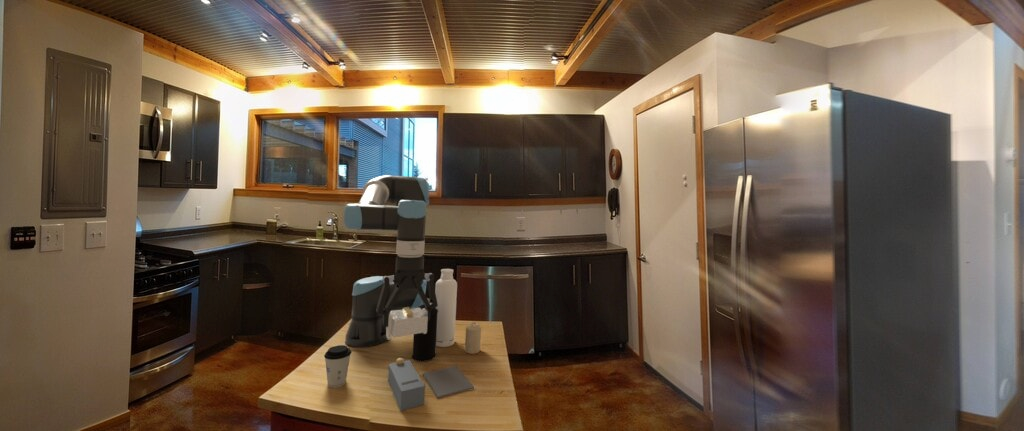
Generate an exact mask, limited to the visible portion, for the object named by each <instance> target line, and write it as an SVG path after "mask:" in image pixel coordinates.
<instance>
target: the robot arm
mask: <svg viewBox="0 0 1024 431" xmlns="http://www.w3.org/2000/svg"><path fill="white" fill-rule="evenodd" d="M361 192H362V195H361V197H360V200H359V201H358V202H357V203H347V204H346V205H345V206H344V212H343V225H344V227H345V228H346V229H348V230H357V231H362V230H363V231H397V232H396V233H397V235H396V236H397V237H396V251H395V253H396V257H395V269H394V270H395V271H394V273H393V275H384V276H382V275H381V276H380V275H375V276H370V277H363V278H361V279H358V280H356V281H355V282H354V283H353V285H352V286H353V287H352V293H351V296H352V298H351V299H352V300H351V301H352V302H351V320H350V323H349V325H348V329H347V331H346V334H345V341H344V342H345V344H346V345H347V346H350V347H355V348H366V347H373V346H378V345H380V344H382V343H385V342H386V341H388V340H389V341H390V340H391V339H392V334H391V326H392V315H391V313H390V311H395V310H403V308H406V307H409V308H410V309H412V308H418V307H419V306H421V305H423V304H424V306H425V308H423V309H422V311H423V312H424V313H425V314H426V315H427V316H428V321H430V315H431V310H432V308H434V307H437V306H438V305H437V299H436V294H435V289H436V287H435V284H434V283H435V282H434V281H435V274H434V273H432V272H428V273H426V272H425V271H424V266H425V265H424V264H425V257H424V254H425V244H426V243H425V242H426V237H425V236H426V223H427V213H428V212H427V206H429V204H430V193H429V192H430V191H429V185H428V181H427V179H426V178H425V177H417V176H406V175H404V176H403V175H394V174H393V175H391V174H384V175H378V176H376V177H375V178H371V179H370V180H369V181H367V182H366V183H365V184H364V186H363V188H362V191H361ZM385 204H391V205H385ZM393 204H395V205H393ZM426 290H428V295H429V299H430V301H429V302H428V299H427V298H428V297H427V295H426V292H427V291H426ZM426 333H427V332H424V333H423V334H426Z"/></svg>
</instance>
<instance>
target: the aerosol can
mask: <svg viewBox="0 0 1024 431" xmlns="http://www.w3.org/2000/svg"><path fill="white" fill-rule="evenodd" d="M427 299H428V302H429V303H430V302H431V301H430V297H429V298H428V297H427ZM418 308H421V310H422V309H423V308H425V306H424V304H423V305H421V306H419V307H418ZM437 313H438V310H437V309H436V308H435V307H434V308H432V310H431V315H430V321H427V333H426V334H423V333H418V334H412V335H413V336H412V337H413V339H412V341H413V342H412V354H411V359H412V360H414V361H416V362H430V361H432V360H434V359H435V358H436V357H437V352H436V349H437V346H436V341H437V340H436V333H437Z"/></svg>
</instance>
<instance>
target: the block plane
mask: <svg viewBox="0 0 1024 431" xmlns="http://www.w3.org/2000/svg"><path fill="white" fill-rule="evenodd" d="M387 381H388V384H389V386H390V389H391V391H392V395H393V396H394V398H395V401H396V404H397V405H398V409H399V411H400V412H402V411H406V410H409V409H413V408H416V407H419V406H423V405H425V395H426V393H425V392H426V391H425V390H426V389H425V388H426V385H425V384H424V382H423V380H422V379H421V377H420V375H419V373H418V372H417V370H416V368H415V367H414V366H413V364H412V362H411V361H410V359H408V360H405V359H404V358H403V357H398V358H396V362H393V363H388V373H387Z"/></svg>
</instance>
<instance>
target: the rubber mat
mask: <svg viewBox="0 0 1024 431" xmlns="http://www.w3.org/2000/svg"><path fill="white" fill-rule="evenodd" d="M422 376H423V378H424V379H425V381H426V383H427V384H428V386H429V388H430V389H431V390H432V392H433V394H434V395H435V397H436V399H441V398H444V397H448V396H449V397H450V396H452V395H455V394H459V393H463V392H467V391H470V390H474V389H475V385H474V384H473V383H472V382H471V381H470V380H469V379H468V378H467V376H466V375H465V374H464V373H463V372H462V371H461V369H460V368H459V367H458V365H453V366H450V367H444V368H439V369H434V370H431V371H427V372H423V373H422Z"/></svg>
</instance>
